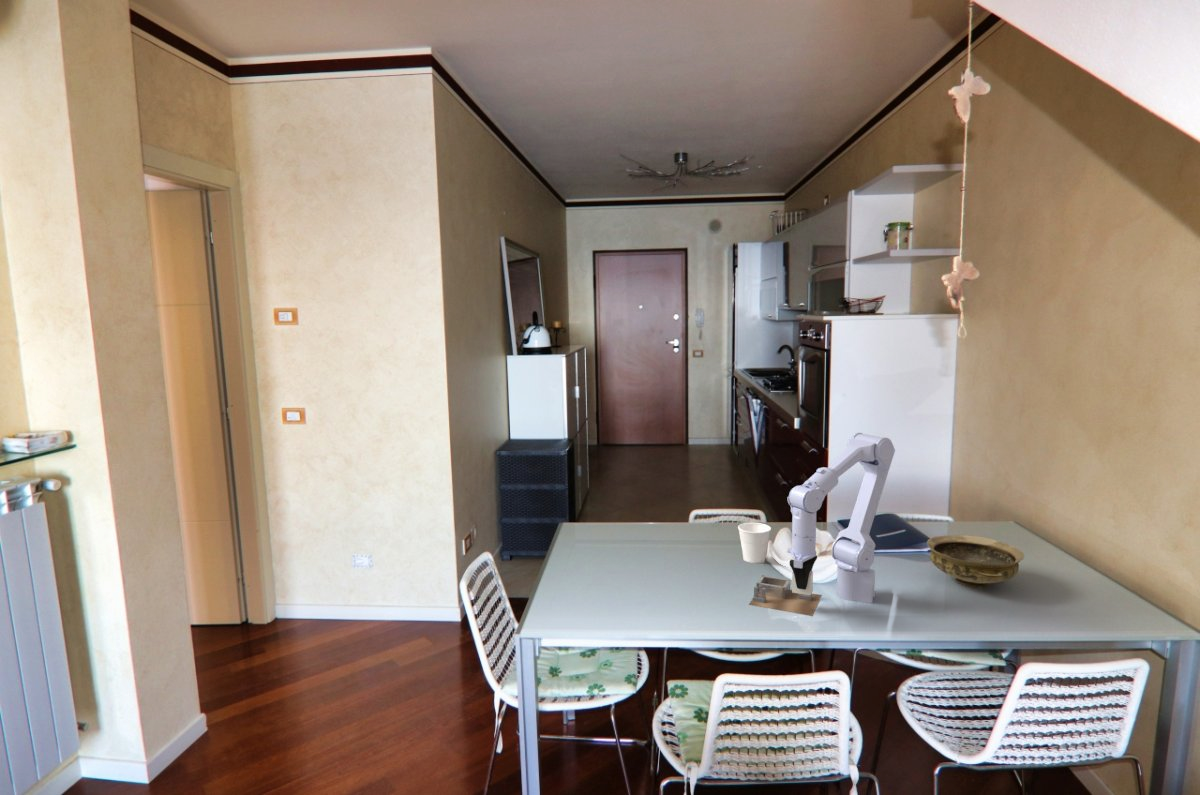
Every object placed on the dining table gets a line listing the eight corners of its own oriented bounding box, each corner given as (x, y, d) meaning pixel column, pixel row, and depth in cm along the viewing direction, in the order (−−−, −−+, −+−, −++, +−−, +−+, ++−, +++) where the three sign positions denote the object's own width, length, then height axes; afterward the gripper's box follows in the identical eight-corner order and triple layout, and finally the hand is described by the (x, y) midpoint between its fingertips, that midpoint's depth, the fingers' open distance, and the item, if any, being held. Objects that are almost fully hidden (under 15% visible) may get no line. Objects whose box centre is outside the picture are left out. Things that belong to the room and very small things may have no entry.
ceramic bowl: (1042, 607, 177) (1045, 570, 176) (942, 601, 182) (944, 564, 180) (998, 565, 207) (1000, 532, 205) (913, 560, 211) (914, 528, 210)
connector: (812, 591, 176) (813, 568, 175) (810, 595, 173) (810, 572, 172) (794, 588, 178) (794, 565, 177) (792, 592, 175) (792, 569, 174)
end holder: (790, 590, 188) (790, 579, 187) (785, 599, 182) (785, 588, 182) (761, 585, 191) (762, 575, 191) (756, 594, 186) (756, 583, 185)
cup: (743, 554, 218) (744, 520, 217) (774, 559, 213) (775, 525, 212) (732, 564, 210) (733, 529, 209) (764, 570, 205) (765, 534, 204)
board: (821, 598, 185) (821, 595, 184) (812, 619, 172) (812, 615, 172) (761, 588, 192) (761, 585, 192) (748, 608, 179) (748, 604, 179)
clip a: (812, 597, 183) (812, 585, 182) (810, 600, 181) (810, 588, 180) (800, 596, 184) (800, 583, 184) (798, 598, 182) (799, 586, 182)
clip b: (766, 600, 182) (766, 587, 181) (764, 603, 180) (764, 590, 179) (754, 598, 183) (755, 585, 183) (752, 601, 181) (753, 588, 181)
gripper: (793, 523, 182) (792, 573, 184) (781, 540, 169) (780, 593, 171) (821, 527, 179) (820, 577, 180) (811, 544, 166) (810, 598, 168)
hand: (802, 585), depth 175 cm, fingers closed on connector, 3 cm apart
